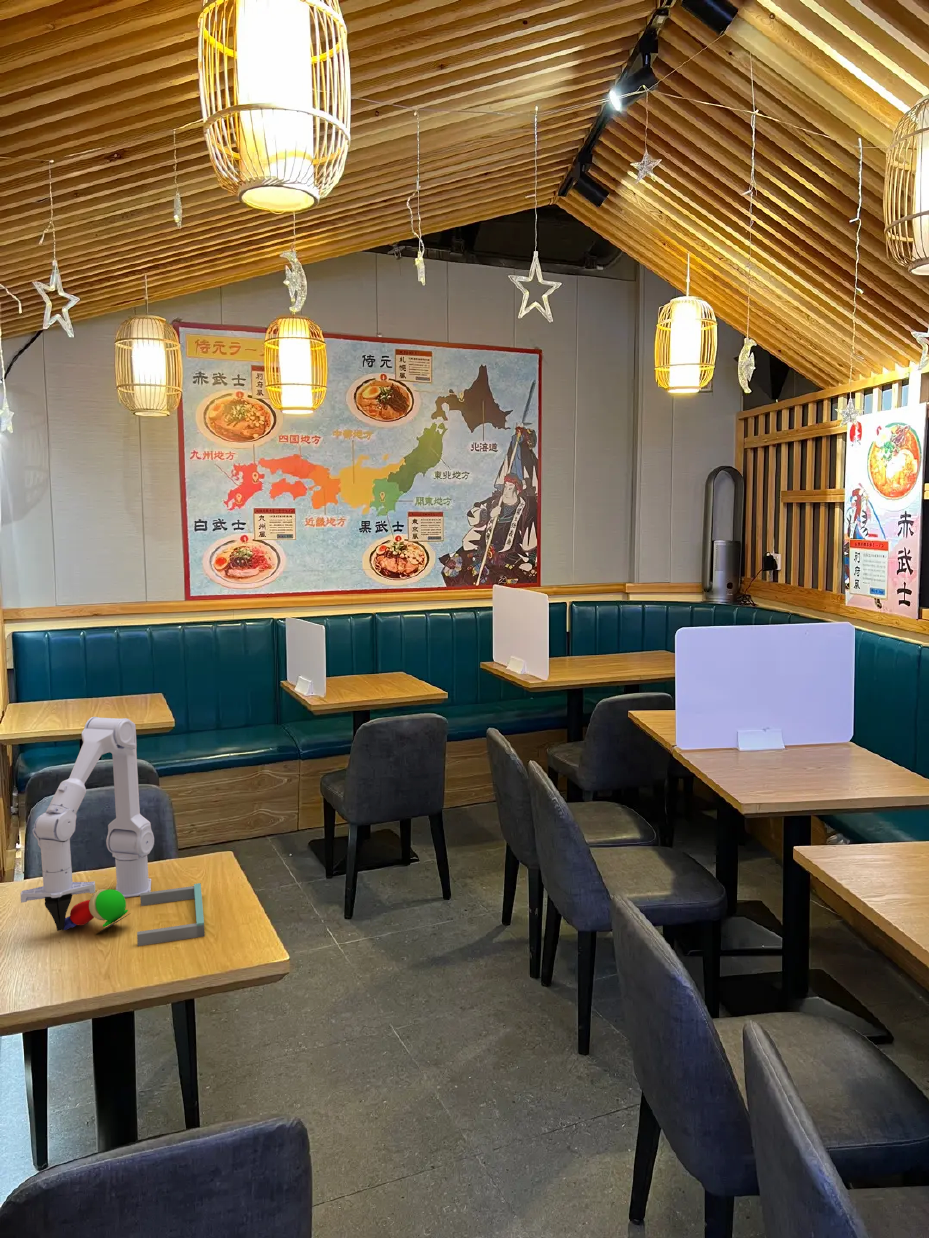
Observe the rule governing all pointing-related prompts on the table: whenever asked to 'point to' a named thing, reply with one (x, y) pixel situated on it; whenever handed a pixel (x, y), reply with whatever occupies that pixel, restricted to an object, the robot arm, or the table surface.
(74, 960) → the table surface
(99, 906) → the toy
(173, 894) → the bay
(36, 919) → the table surface
